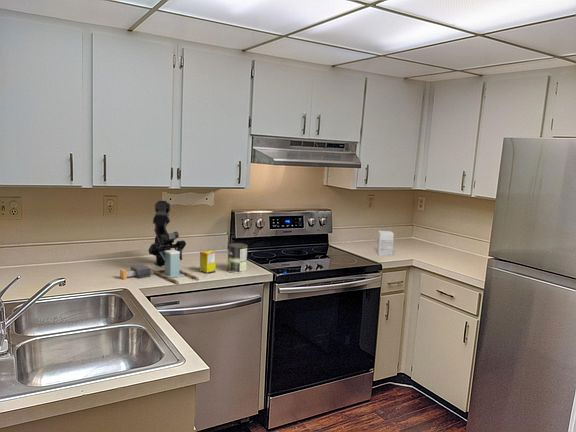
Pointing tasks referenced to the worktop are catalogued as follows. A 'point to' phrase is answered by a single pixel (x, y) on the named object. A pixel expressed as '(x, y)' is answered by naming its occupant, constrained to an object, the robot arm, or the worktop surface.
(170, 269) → the pale teal box
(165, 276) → the track
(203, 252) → the supplement box
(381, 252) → the supplement box
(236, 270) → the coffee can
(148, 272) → the reset housing
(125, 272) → the plunger
